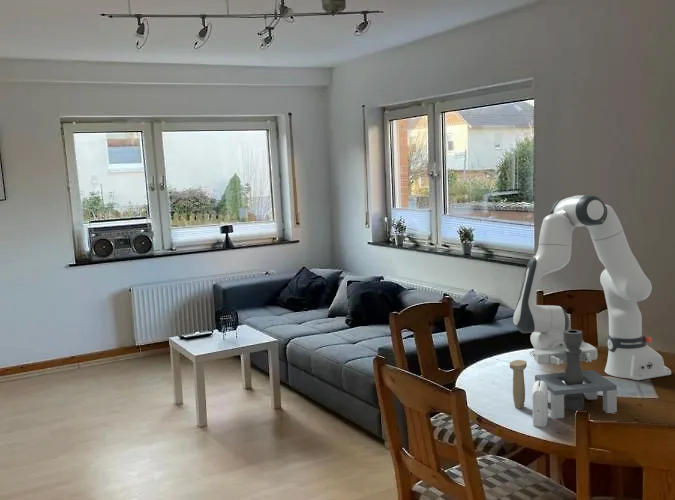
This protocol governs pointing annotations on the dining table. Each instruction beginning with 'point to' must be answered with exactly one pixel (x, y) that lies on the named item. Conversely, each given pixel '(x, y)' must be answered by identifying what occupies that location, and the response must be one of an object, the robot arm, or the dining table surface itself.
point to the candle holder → (573, 368)
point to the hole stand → (579, 390)
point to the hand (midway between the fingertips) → (575, 361)
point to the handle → (518, 382)
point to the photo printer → (540, 404)
